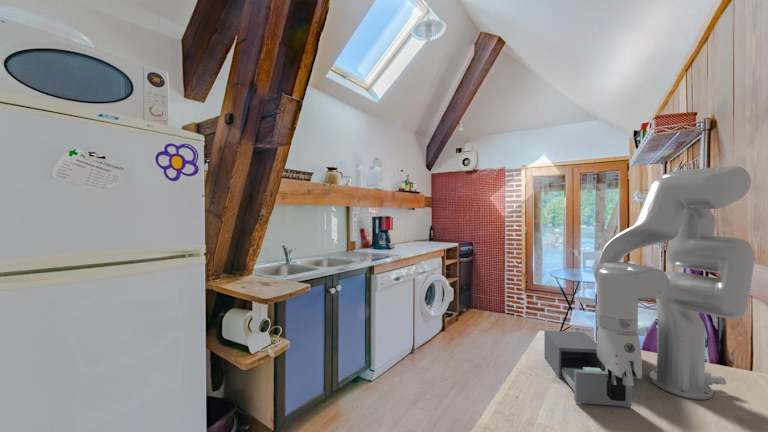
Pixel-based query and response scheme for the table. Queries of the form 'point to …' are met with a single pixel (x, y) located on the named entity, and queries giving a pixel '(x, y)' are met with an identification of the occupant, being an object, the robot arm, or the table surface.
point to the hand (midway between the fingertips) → (615, 398)
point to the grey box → (570, 351)
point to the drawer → (592, 387)
